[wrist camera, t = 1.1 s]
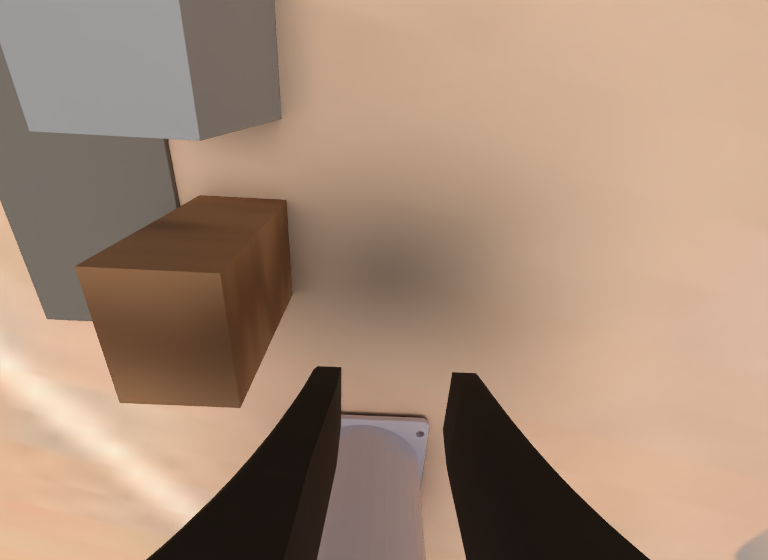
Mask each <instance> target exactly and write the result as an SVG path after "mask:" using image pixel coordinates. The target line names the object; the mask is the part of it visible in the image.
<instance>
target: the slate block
mask: <svg viewBox="0 0 768 560" xmlns="http://www.w3.org/2000/svg"><path fill="white" fill-rule="evenodd" d="M0 44H1V47H2V50H3V53H4V56H5V59H6V62H7V65H8V68H9V71H10V74H11V77H12V80H13V83H14V86H15V89H16V92H17V95H18V98H19V101H20V104H21V107H22V110H23V113H24V116H25V119H26V122H27V125H28V128H29V131H34V132H52V133H70V134H88V135H107V136H125V137H143V138H161V139H179V140H198V141H201V140H204V139H208V138H212V137H215V136H219V135H223V134H227V133H230V132H234V131H238V130H241V129H245V128H249V127H252V126H256V125H260V124H264V123H267V122H271V121H275V120H278V119H281V103H280V86H279V70H278V53H277V37H276V20H275V4H274V0H0Z"/></svg>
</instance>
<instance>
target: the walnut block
mask: <svg viewBox="0 0 768 560" xmlns="http://www.w3.org/2000/svg"><path fill="white" fill-rule="evenodd" d="M74 267H75V270H76V273H77V276H78V279H79V282H80V285H81V288H82V291H83V294H84V297H85V300H86V303H87V306H88V309H89V312H90V315H91V318H92V321H93V324H94V327H95V330H96V333H97V336H98V339H99V342H100V345H101V348H102V351H103V354H104V357H105V360H106V363H107V366H108V369H109V372H110V375H111V378H112V381H113V384H114V387H115V390H116V393H117V396H118V399H119V402H120V403H136V404H160V405H184V406H209V407H233V408H240V407H241V405H242V403H243V401H244V399H245V397H246V394H247V392H248V390H249V388H250V386H251V383H252V381H253V379H254V377H255V375H256V372H257V370H258V368H259V366H260V364H261V362H262V359H263V357H264V355H265V353H266V351H267V348H268V346H269V344H270V342H271V340H272V337H273V335H274V333H275V331H276V329H277V327H278V324H279V322H280V320H281V318H282V316H283V313H284V311H285V309H286V307H287V305H288V303H289V300H290V298H291V296H292V284H291V267H290V251H289V234H288V218H287V202H286V200H276V199H257V198H238V197H219V196H198V197H196V198H194V199H193V200H191V201H189V202H187V203H186V204H184V205H182V206H180V207H179V208H177V209H175V210H173V211H171V212H170V213H168V214H166V215H164V216H163V217H161V218H159V219H157V220H156V221H154V222H152V223H150V224H148V225H147V226H145V227H143V228H141V229H140V230H138V231H136V232H134V233H133V234H131V235H129V236H127V237H125V238H124V239H122V240H120V241H118V242H117V243H115V244H113V245H111V246H110V247H108V248H106V249H104V250H103V251H101V252H99V253H97V254H95V255H94V256H92V257H90V258H88V259H87V260H85V261H83V262H81V263H80V264H78V265H76V266H74Z"/></svg>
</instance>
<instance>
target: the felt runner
mask: <svg viewBox="0 0 768 560" xmlns="http://www.w3.org/2000/svg"><path fill="white" fill-rule="evenodd" d="M0 201H1V203H2V206H3V208H4V211H5V213H6V216H7V218H8V221H9V223H10V226H11V228H12V231H13V234H14V236H15V239H16V241H17V244H18V246H19V249H20V251H21V254H22V256H23V259H24V262H25V264H26V267H27V269H28V272H29V274H30V277H31V279H32V282H33V284H34V287H35V290H36V292H37V295H38V297H39V300H40V302H41V305H42V307H43V310H44V312H45V315H46V318H47V319H57V320H78V321H92V318H91V315H90V312H89V309H88V306H87V303H86V300H85V297H84V294H83V291H82V288H81V285H80V282H79V279H78V276H77V273H76V270H75V267H74V266H76V265H78V264H80V263H81V262H83V261H85V260H87V259H88V258H90V257H92V256H94V255H95V254H97V253H99V252H101V251H103V250H104V249H106V248H108V247H110V246H111V245H113V244H115V243H117V242H118V241H120V240H122V239H124V238H125V237H127V236H129V235H131V234H133V233H134V232H136V231H138V230H140V229H141V228H143V227H145V226H147V225H148V224H150V223H152V222H154V221H156V220H157V219H159V218H161V217H163V216H164V215H166V214H168V213H170V212H171V211H173V210H175V209H177V208H179V207H180V206H179V200H178V195H177V189H176V184H175V179H174V173H173V168H172V163H171V157H170V152H169V147H168V141H167V139H161V138H143V137H125V136H107V135H88V134H70V133H52V132H34V131H29V128H28V125H27V122H26V119H25V116H24V113H23V110H22V107H21V104H20V101H19V98H18V95H17V92H16V89H15V86H14V83H13V80H12V77H11V74H10V71H9V68H8V65H7V62H6V59H5V56H4V53H3V50H2V47H1V44H0Z"/></svg>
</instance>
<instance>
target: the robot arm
mask: <svg viewBox="0 0 768 560" xmlns="http://www.w3.org/2000/svg"><path fill="white" fill-rule="evenodd" d="M418 431H422V432H418ZM428 432H429V424H428V421H427V420H426V419H424V418H412V417H388V416H364V415H341V367H320V366H318V367H316V368H315V369H314V370H313V372H312V373H311V375H310V377H309V379H308V380H307V382H306V384H305V385H304V387H303V388H302V390H301V392H300V393H299V395H298V396H297V398H296V399H295V401H294V402H293V403H292V405H291V406H290V408H289V409H288V410H287V412H286V413H285V414H284V416H283V417H282V419H281V420H280V421H279V423H278V424H277V425H276V427H275V428H274V429H273V431H272V432H271V433H270V434H269V436H268V437H267V438H266V439H265V440H264V442H263V443H262V444H261V445H260V447H259V448H258V449H257V450H256V451H255V453H254V454H253V455H252V456H251V457H250V459H249V460H248V461H247V462H246V463H245V464H244V465H243V467H242V468H241V469H240V470H239V471H238V472H237V473H236V474H235V475H234V477H233V478H232V479H231V480H230V481H229V482H228V483H227V484H226V485H225V486H224V487H223V488H222V489H221V490H220V491H219V492H218V493H217V494H216V496H215V497H214V498H213V499H212V500H211V501H210V502H208V503H207V504H206V505H205V506H204V507H203V508H202V509H201V510H200V511H199V512H198V513H197V514H196V515H195V516H194V517H193V518H192V519H191V520H190V521H189V522H188V523H187V524H186V525H185V526H184V527H183V528H182V529H180V530H179V531H178V532H177V533H176V534H175V535H174V536H173V537H172V538H171V539H170V540H168V541H167V542H166V543H165V544H164V545H163V546H162V547H161V548H159V549H158V550H157V551H156V552H155V553H154V554H152V555H151V556H150V557H149V558H148V559H146V560H426V558H425V546H424V535H423V523H422V511H421V499H420V488H421V481H422V474H423V467H424V460H425V453H426V446H427V439H428ZM443 435H444V445H445V455H446V464H447V471H448V476H449V481H450V485H451V490H452V495H453V500H454V504H455V509H456V513H457V518H458V523H459V527H460V532H461V537H462V541H463V546H464V550H465V555H466V560H650V559H649V558H647V557H646V556H645V555H644V554H643V553H642V552H640V551H639V550H638V549H637V548H636V547H635V546H633V545H632V544H631V543H630V542H629V541H628V540H626V539H625V538H624V537H623V536H622V535H621V534H619V533H618V532H617V531H616V530H615V529H614V528H613V527H612V526H611V525H609V524H608V523H607V522H606V521H605V520H604V519H603V518H602V517H601V516H600V515H599V514H598V513H597V512H596V511H595V510H593V509H592V508H591V507H590V506H589V505H588V504H587V503H586V502H585V501H584V500H583V499H582V498H581V497H580V496H579V495H578V494H577V493H576V492H575V491H574V490H573V489H572V488H571V487H570V486H569V485H568V484H567V483H566V482H565V481H564V480H563V479H562V478H561V477H560V476H559V474H558V473H557V472H556V471H555V470H554V469H553V468H552V467H551V466H550V465H549V463H548V462H547V461H546V460H545V459H544V458H543V457H542V456H541V455H540V453H539V452H538V451H537V450H536V449H535V448H534V447H533V445H532V444H531V443H530V442H529V441H528V439H527V438H526V437H525V436H524V435H523V433H522V432H521V431H520V430H519V428H518V427H517V426H516V425H515V424H514V422H513V421H512V420H511V419H510V417H509V416H508V415H507V414H506V412H505V411H504V410H503V408H502V407H501V406H500V404H499V403H498V402H497V400H496V399H495V398H494V396H493V395H492V394H491V392H490V391H489V390H488V388H487V387H486V386H485V384H484V383H483V382H482V380H481V379H480V378H479V376H478V375H477V374H476V373H455V372H452V378H451V384H450V390H449V396H448V403H447V409H446V415H445V421H444V427H443Z"/></svg>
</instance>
